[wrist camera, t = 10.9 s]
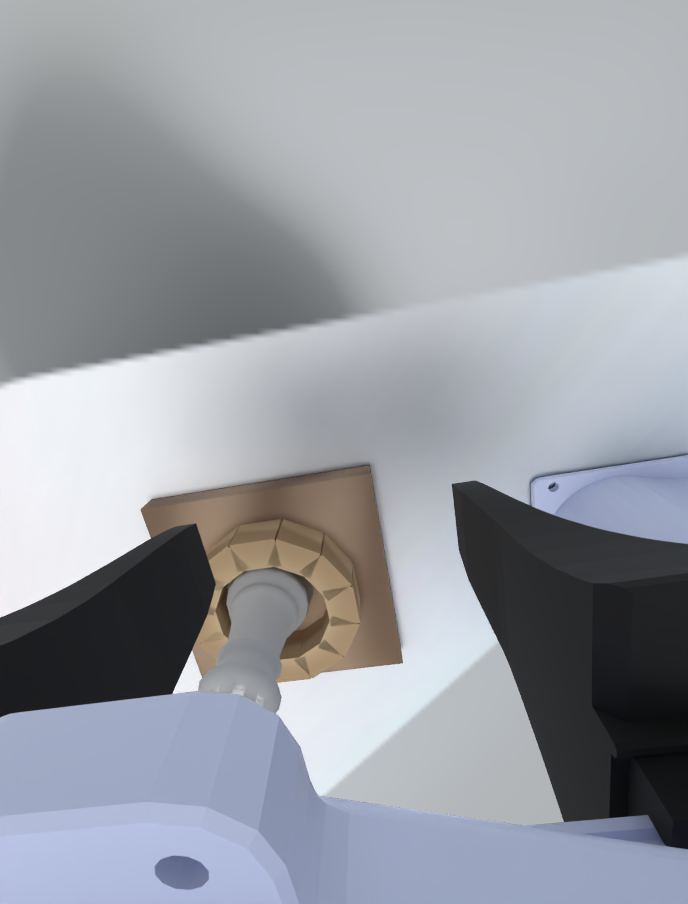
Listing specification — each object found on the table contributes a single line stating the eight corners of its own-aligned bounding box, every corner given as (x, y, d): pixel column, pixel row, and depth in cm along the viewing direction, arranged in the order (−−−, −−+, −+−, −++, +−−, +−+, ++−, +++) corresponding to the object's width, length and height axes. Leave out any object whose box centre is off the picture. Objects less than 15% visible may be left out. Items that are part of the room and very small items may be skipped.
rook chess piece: (314, 619, 24) (293, 764, 16) (234, 616, 24) (178, 758, 17) (314, 550, 23) (292, 674, 15) (229, 546, 23) (165, 668, 15)
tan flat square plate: (369, 465, 22) (371, 490, 19) (400, 647, 26) (406, 692, 23) (151, 499, 23) (120, 528, 20) (211, 670, 27) (193, 716, 24)
